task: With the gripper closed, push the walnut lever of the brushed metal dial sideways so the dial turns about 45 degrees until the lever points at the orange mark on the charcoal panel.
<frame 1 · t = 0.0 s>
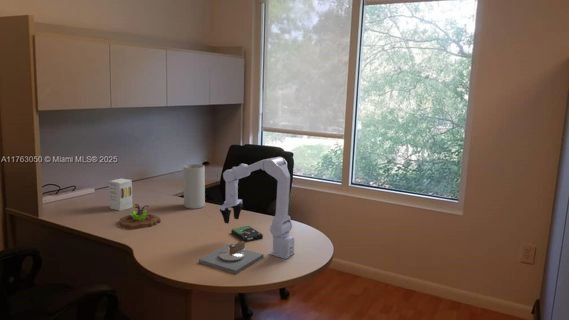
hand: (231, 220, 212), 10 cm above the table, tool pointing down, fingers open, 7 cm apart
dial: (233, 249, 192), point 4 cm above the table, hinge at 0.0°
plant: (139, 223, 236), on the table
cylinder vase: (194, 206, 268), on the table
supplement box: (121, 208, 261), on the table
disk drive: (246, 237, 221), on the table
dial panel: (231, 259, 191), on the table
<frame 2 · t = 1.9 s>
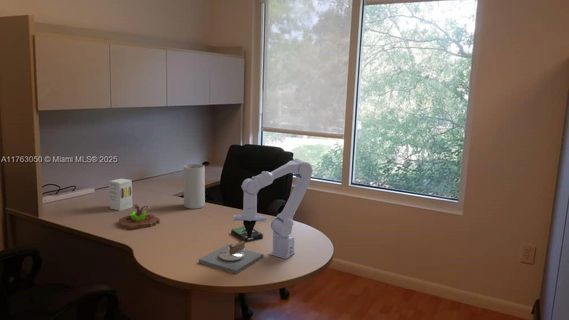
hand: (249, 236, 191), 10 cm above the table, tool pointing down, fingers closed
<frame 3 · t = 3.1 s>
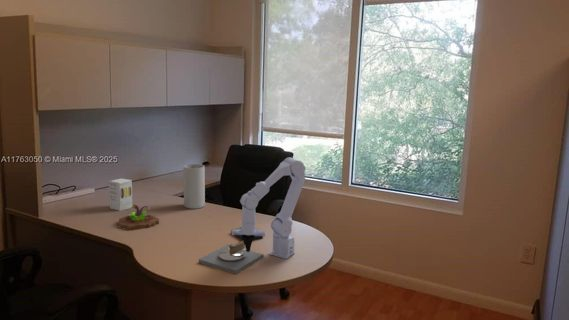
hand: (248, 250, 192), 4 cm above the table, tool pointing down, fingers closed
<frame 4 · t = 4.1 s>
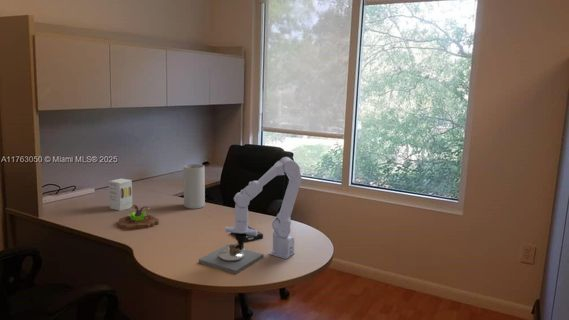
hand: (241, 249, 194), 4 cm above the table, tool pointing down, fingers closed
dial: (233, 249, 192), point 4 cm above the table, hinge at 3.5°, touching gripper
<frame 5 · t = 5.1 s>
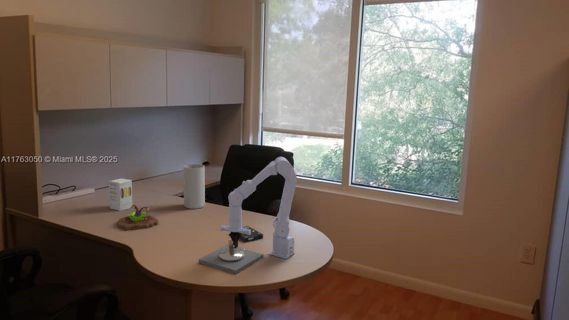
hand: (235, 247, 196), 4 cm above the table, tool pointing down, fingers closed, pressing on dial
dial: (231, 249, 192), point 4 cm above the table, hinge at 42.4°, touching gripper
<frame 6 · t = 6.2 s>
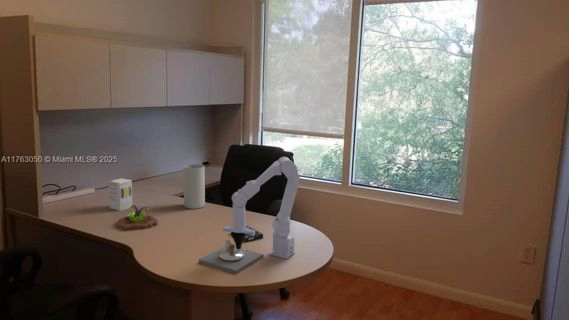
hand: (238, 248, 195), 4 cm above the table, tool pointing down, fingers closed
dial: (230, 249, 192), point 4 cm above the table, hinge at 50.6°
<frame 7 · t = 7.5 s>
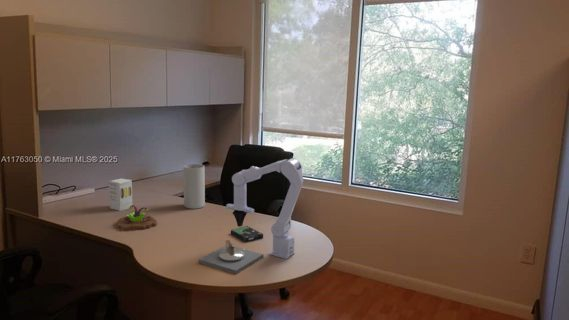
hand: (239, 225, 204), 10 cm above the table, tool pointing down, fingers closed
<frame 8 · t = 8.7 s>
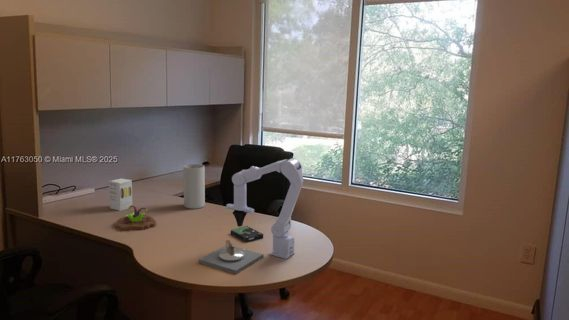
hand: (239, 225, 204), 10 cm above the table, tool pointing down, fingers closed
at the end: dial at +51° (first picture: +0°) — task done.
